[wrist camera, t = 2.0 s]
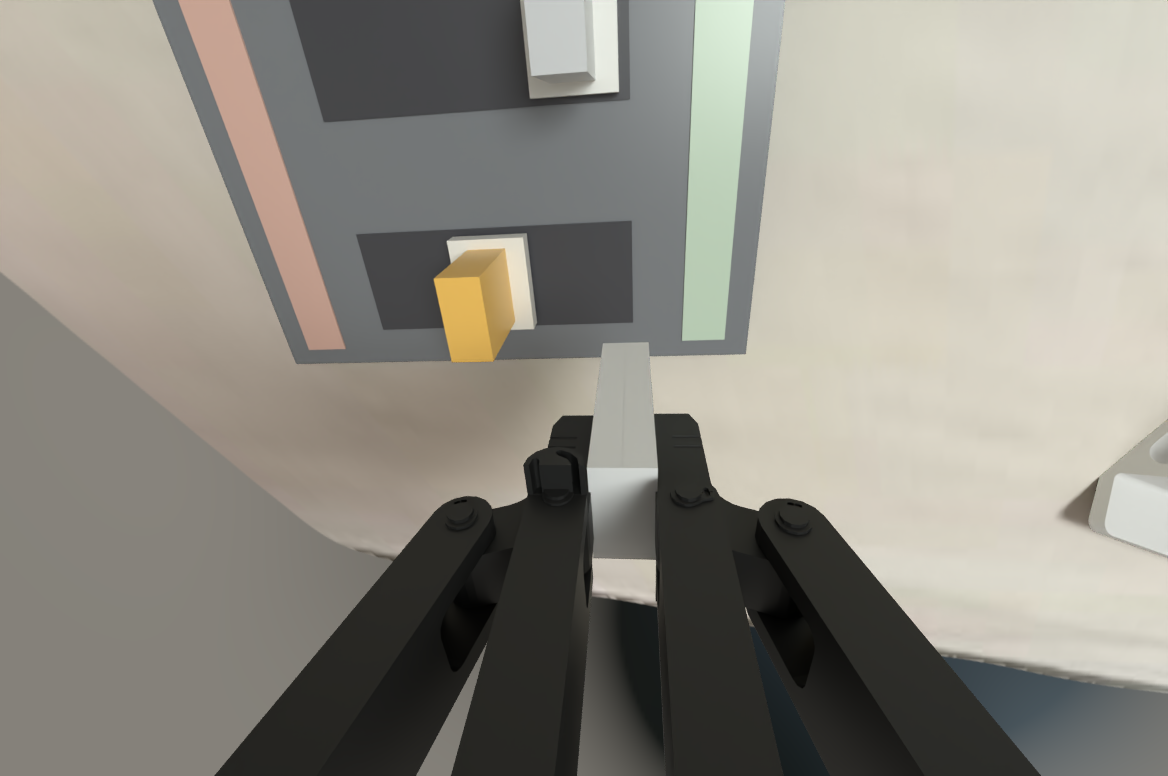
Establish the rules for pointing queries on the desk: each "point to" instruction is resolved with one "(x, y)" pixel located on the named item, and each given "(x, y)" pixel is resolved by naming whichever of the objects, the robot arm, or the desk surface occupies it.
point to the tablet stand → (1136, 496)
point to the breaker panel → (491, 161)
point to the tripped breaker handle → (485, 294)
